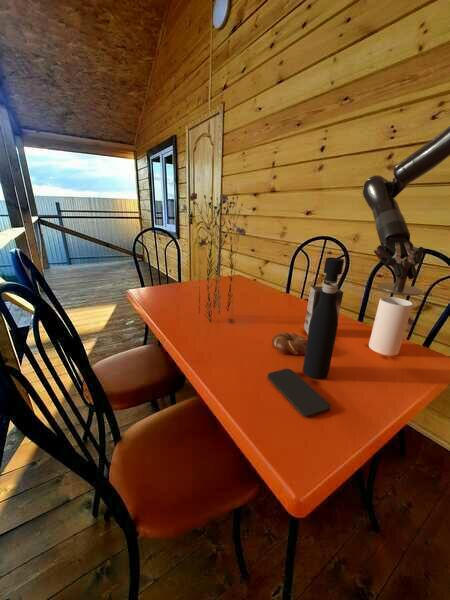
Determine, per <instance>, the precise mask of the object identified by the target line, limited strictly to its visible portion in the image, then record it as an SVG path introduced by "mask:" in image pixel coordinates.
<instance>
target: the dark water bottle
mask: <svg viewBox="0 0 450 600" xmlns="http://www.w3.org/2000/svg"><path fill="white" fill-rule="evenodd" d="M344 264H345V259H343V258H340V257H326V258H325V260H324V267H323V273H324V274H325V279H324V281H325V282H324V283H323V284H322V287H323V288H322V289H323V290H321V293H320V299H319V302H318V304H317V306H316V308H315V310H314V312H313V314H312V317H311V320H310V325H309V332H308V334H307V339H306V340H307V345H306V351H305V354H304V358H303V366H302V372H303V373H304V375H305V376H307V377H308V378H311V379H313V380H320V381H321V380H325V379H327V378H328V377H329V372H330V368H331V364H332V363H331V362H332V357H333V354H334V353H333V351H334V347H335V344H336V343H335V342H336V338H337V332H338V326H339V317H338V313H337V307H336V300H337V294H338V293H337V292H336V291H337V289H339V286H338V284H337V283H338V279H339V276H340V275H342V274H343V268H344Z"/></svg>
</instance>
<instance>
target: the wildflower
mask: <svg viewBox="0 0 450 600" xmlns="http://www.w3.org/2000/svg"><path fill="white" fill-rule="evenodd" d="M190 194H191V195H189V199H190V202H192V205H194V206H195V208H196V210H197V211H198V212H199V214H200V215H198V216H199V217H200V218H201V219H202V220H203V222H204V226H205V230H206V231H207V232H208V234H209V235H210V240H209V238H208V236H206V239H203V237H202V238H201V236H200V235H198V246H197V247H198V249H202V250H204V249H205V245H207V244H206V243H207V242H208V243H209V244H210V248H208V250H209V254H208V257H206V258H207V259H206V261H205V262H206V266H207V267H206V280H207V284H209V282H210V279H211V277H212V276H213V275H214V274H215V275H216V276H215V277H216V278H215V280H214V282H215V285H214V286H215V287H214V292H213V294H212V296H213V297H214V298H212V301H213V302H211V298H210V296H211V293H210V291H209V290H210V287H212V286H213V283H211V285H210V286H209V285H206V286H205V287H206V290H207V300H205V302H206V304H204V306H205V308H206V309H204V311H205V312H206V314H205V313H203V315H204V316H205V317H206V318H207V319H208V321H209V323H211V322H212V318H213V317H212V314H213V313H212V312H213V310H215V308H216V309H217V312H218V315H220V314H221V306H220V305H221V304H222V303H221V301H220V300H221V295H220V287H221V285H220V286H219V285H218V284H219V283H220V282H221V280H222V278H220V280H219V279H218V278H219V277H220V274H221V271H222V270H223V269H225V267H222V266H223V265H224V263H223V264H222V262H223V260H224V257H223V253H222V247H223V246H225V240H226V238H227V236H228V235H229V240H230V241H232V240H233V243H232V242H231V244H230V251H228V253H229V254H228V255H227V257H228V259H229V260H230V261H233V260H234V257H232V254H233V253H232V252H233V244H238V242H239V240H240V237H238V236H245V235H246V230H245V229H244V228H241V227H240V226H239V227H238V226H237V219H239V216H240V213H241V210H242V206H243V205H244V202H241V203H240V204H241V206H240V207H239V210H236V208H235V206H236V202H234V201H235V197H234V196H232V201H230V200H229V197H228V196H229V195H225V194H220V196H219V197H218V196H216V201H217V202H216V206H213V202H212V200H213V196H210V198H209V199H210V202H208V205H207V202H206V198H207V196H206V194H204V195H203V198H204V201H203V202H204V205H205V210H203V209H202V208H203V207H201V208H200V207H199V203H198V202H196V201H197V199H198V193H197V192H192V193H190ZM219 199H220V202H218V200H219ZM238 199H239V196H238V195H237V196H236V200H238ZM224 204H226V206H224ZM208 208H209V209H210V210H211V214H212V215H211V216H209V214H207V213H209V212H210V210H209V209H208ZM231 208H232V209H231ZM230 209H231V212H230ZM207 210H208V211H207ZM203 211H204V213H205V217H206V218H207V219H208V220H207V222H206V221H205V220H204V216H203V215H202V213H203ZM223 212H225V215H223ZM232 212H234V214H232ZM237 212H238V214H237ZM235 214H237V217H236V216H235ZM227 215H228V216H229V217H230V218H228V219H227V220H228V222H227V220H226V218H227ZM218 218H220V219H218ZM231 218H233V219H235V218H236V220H235V222H231ZM210 219H211V220H212V221H214V220H215V221H214V224H213V225H212V227H211V226H210V225H211V223H212V221H210ZM217 219H218V221H217ZM221 220H222V221H221ZM220 221H221V222H223V223H222V224H219V222H220ZM227 223H228V224H229V227H228V224H227ZM232 225H233V226H232ZM216 227H217V229H218V230H216V233H215V236H216V239H217V243H219V242H220V245H215V248H216V250H217V252H218V253H217V254H216V258H217V261H216V260H214V257H212V245H214V244H213V243H215V244H216V241H215V238H213V237H214V231H212V230H213V229H214V228H216ZM224 227H225V228H226V231H223V228H224ZM235 228H236V229H235ZM232 232H235V237H233V236H231V234H232ZM217 233H219V234H220V236H219V235H217ZM200 239H201V240H200ZM223 239H224V240H223ZM237 253H238V247H236V249H235V252H234V255H235V258H237V257H236V256H237ZM213 260H214V261H213ZM215 262H216V268H215V267H214V264H215ZM227 263H228V265H229V267H230V275H229V273H228V272H227V276H228V277H229V279H230V282H233V281H235V276H236V266H234V265H237V264H236V263H237V261H236V260H234V264H233V262H229V261H228V262H227ZM199 264H202V258H199ZM212 267H213V268H212ZM221 267H222V268H221ZM233 267H234V269H233ZM233 270H234V271H233ZM213 271H214V272H213ZM212 272H213V273H212ZM198 273H199V276H201V274H202V272H201V270H200V267H198ZM211 273H212V274H211ZM198 280H199V283H201V277H198ZM198 288H199V289H198V290H199V291H198V313H201V307H200V306H201V287H198ZM228 289H229V290H228V292H227V303H228V305H227V306H225V309H226V310H227V312H230V305H231V313H232V315H234V301H232V299H233V296H234V291H235V287H232V284H231V283H229V288H228ZM212 307H213V310H212ZM207 315H208V316H207Z"/></svg>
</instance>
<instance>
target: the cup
mask: <svg viewBox="0 0 450 600" xmlns="http://www.w3.org/2000/svg"><path fill="white" fill-rule="evenodd" d="M413 305H414V303H413V302H411V301H410V300H408V299H403V298H400V297H395V296H382V297H380V298H379V302H378V305H377V308H376V309H377V310H376V313H375V317H374V322H373V325H372V329H371V335H370V337H369V341H368V348H369V349H370V350H371V351H373V352H375V353H378V354H380V355H384V356H390V357H391V356H392V357H393V356H398V355H399V354H400V350H401V346H402V343H403V340H404V337H405V333H406V330H407V326H408V322H409V319H410V316H411V313H412V309H413Z"/></svg>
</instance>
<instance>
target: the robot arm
mask: <svg viewBox="0 0 450 600" xmlns="http://www.w3.org/2000/svg"><path fill="white" fill-rule="evenodd" d="M449 157H450V126H448V127H447V128H446V129H444V130H442V132H440V133H439V134H438V135H436V136H435V137H433V138H432V139H430V140H429V141H428V142H427V143H425V144H424V145H422V146H420V148H418V149H417V150H415V151H414V152H412V153H411V154H409V155H408V156H407V157H406V158H404V159H403V160H401V161H399V162H398V163H397V164H396V165H395V166H394V167H393V170H392V173H393V178H392V179H391V180H388V179H387V178H385V177H384V176H382V175H380V174H378V175H377V174H376V175H371V176H369V177H368V179H366V180H365V182H364V183H363V186H362V196H363V198H364V200H365V202H366V204H367V206H368V207H369V209H370V211H371V212H372V217H373V220H374V224H375V230H376V234H377V236H378V240H379V243H380V244H379V245H377V247H376V248H375V249H374V250H373V253H374V254H375V255H376V256H377V258H378V259H379V260H380V261H381V262H382V263H383V265H384V266H386V267H391V268H392V269H393V272H394V276H395V277H396V278H398V279H402V278H403V277H405V272H404V269H403V266H402V264H400V263H401V261H405V262H411V265H410V269H409V273H408V276H407V280H413V279H415V278H416V277H417V276H418V272H417V269H416V266H417V265H418V264H420V263H421V262H422V258H423V254H424V250H425V248H424V247H423V246H419V247H417V246H414V244H413V242H411V233H410V231H409V227H408V225H407V222H406V219H405V217H404V215H403V213H402V212H401V209H400V206H399V204H398V202H397V200H396V197H397V196H398V195H400V194H401V193H402V191H404V190H405V189H406V188H407V187H408V186H409V185H410V184H411V183H413V182H414V181H416V180H417V179H419V178H420V177H422V176H425V175H426V174H427V173H429V172H431V171H432V170H433V169H435V168H436V167H438V166H439V165H440V164H442V163H443V162H444V161H445V160H446V159H448V158H449Z"/></svg>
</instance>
